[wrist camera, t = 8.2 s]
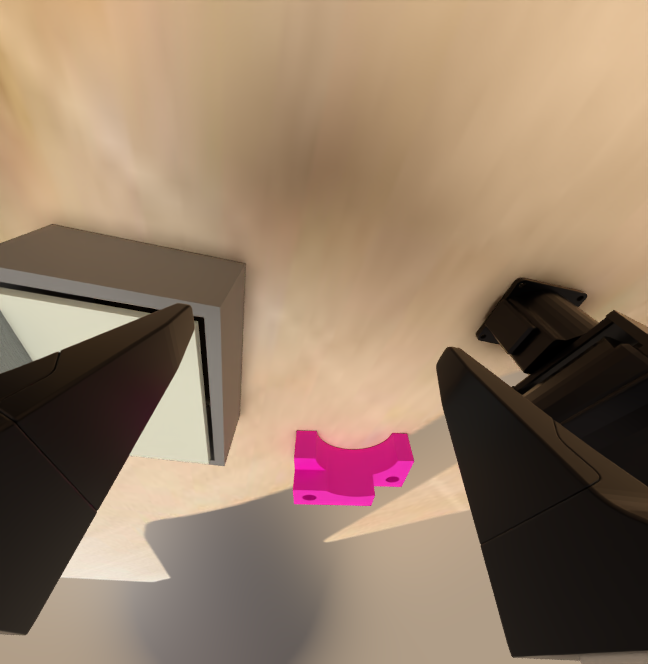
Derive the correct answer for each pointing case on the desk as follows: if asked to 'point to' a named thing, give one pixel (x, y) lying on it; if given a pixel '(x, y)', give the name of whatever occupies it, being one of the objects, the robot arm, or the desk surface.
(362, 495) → the magenta saddle bracket
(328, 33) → the desk surface
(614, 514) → the robot arm
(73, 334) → the trapdoor
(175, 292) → the hatch box
